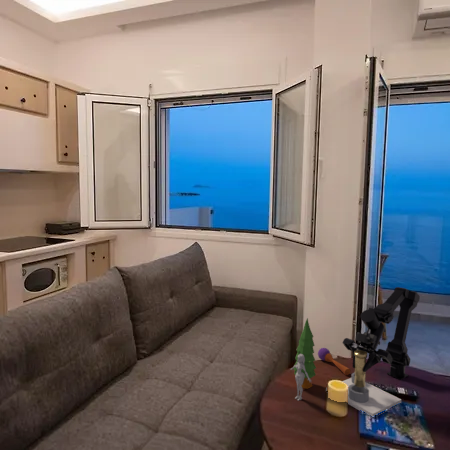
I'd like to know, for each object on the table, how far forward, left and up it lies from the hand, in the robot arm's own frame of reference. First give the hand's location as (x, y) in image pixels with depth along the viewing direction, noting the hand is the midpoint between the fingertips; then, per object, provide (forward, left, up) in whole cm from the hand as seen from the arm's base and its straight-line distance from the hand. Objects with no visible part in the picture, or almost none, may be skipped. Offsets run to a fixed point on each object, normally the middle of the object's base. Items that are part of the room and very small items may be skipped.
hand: (358, 369), depth 143 cm
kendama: (-17, -27, -14) cm, 35 cm away
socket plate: (-5, -2, -13) cm, 15 cm away
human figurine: (+17, -15, -14) cm, 26 cm away
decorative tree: (+8, -22, -14) cm, 27 cm away
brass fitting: (-1, 0, -7) cm, 7 cm away
